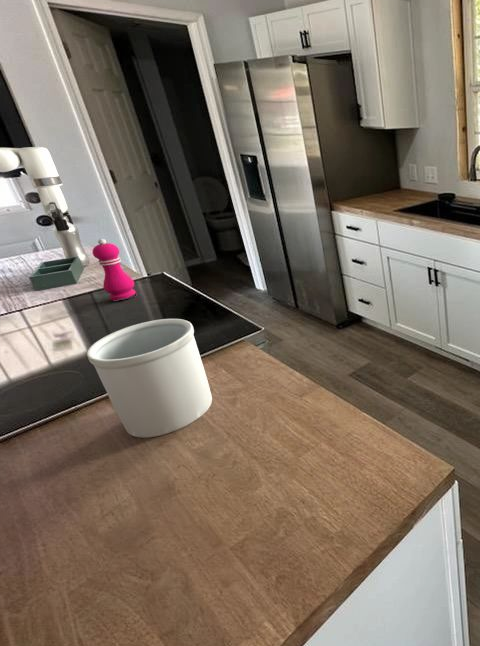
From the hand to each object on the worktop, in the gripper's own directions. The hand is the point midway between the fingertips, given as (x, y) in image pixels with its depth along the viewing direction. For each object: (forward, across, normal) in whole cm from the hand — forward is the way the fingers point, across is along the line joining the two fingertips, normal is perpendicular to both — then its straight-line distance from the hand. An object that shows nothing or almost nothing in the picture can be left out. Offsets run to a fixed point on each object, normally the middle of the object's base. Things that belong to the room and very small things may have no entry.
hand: (65, 227), depth 156 cm
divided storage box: (+16, +14, -4) cm, 21 cm away
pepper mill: (+16, +51, +15) cm, 55 cm away
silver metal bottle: (+16, 0, 0) cm, 16 cm away
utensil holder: (+16, +131, +26) cm, 135 cm away
